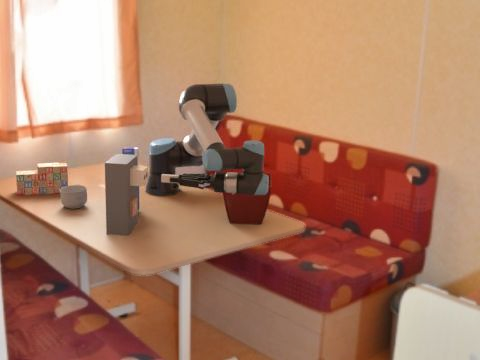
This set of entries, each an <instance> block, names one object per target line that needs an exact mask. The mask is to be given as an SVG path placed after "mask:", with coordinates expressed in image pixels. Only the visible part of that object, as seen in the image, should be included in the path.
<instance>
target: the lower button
mask: <svg viewBox="0 0 480 360" xmlns="http://www.w3.org/2000/svg"><path fill="white" fill-rule="evenodd" d="M137 212H138V213H139V210H138V197H137V196H134V197H133V198H132V199H131V200H130V217H134V215H135V214H136V213H137Z"/></svg>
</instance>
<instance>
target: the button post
mask: <svg viewBox="0 0 480 360" xmlns="http://www.w3.org/2000/svg"><path fill="white" fill-rule="evenodd" d="M134 165H135V166H139V157H138V158H137V155H128V154H122V153H116V154H114V155H113V156H112V157H111V158H109V159H108V160H106V161H105V162H104V177H105V178H104V181H105V183H104V186H105V188H104V190H105V229H106V230H105V231H106V235H115V236H117V235H118V236H127V237H128V236H129V235H130V234H131V233H132V231H133V230H134V229H135V227H137V225H138V224H139V211H138V212H137V213H136V214H135V215H134V217H130V200H131V199H132V198H133V197H134V196H137V197H138V186H130V168H131V167H133V166H134Z"/></svg>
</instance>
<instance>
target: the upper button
mask: <svg viewBox="0 0 480 360" xmlns="http://www.w3.org/2000/svg"><path fill="white" fill-rule="evenodd" d="M148 177H149V166H146V165H138V166H135V165H134V166H133V167H131V168H130V186H139V187H144V186H146V183H147V182H148Z"/></svg>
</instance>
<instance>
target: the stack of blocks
mask: <svg viewBox="0 0 480 360" xmlns="http://www.w3.org/2000/svg"><path fill="white" fill-rule="evenodd" d="M36 165H37V169H36V170H18V171H17V170H16V171H15V173H16V176H15V177H16V191H17V192H16V194H17V196H27V195H46V194H60V189H61V188H63V187H66V186H69V173H68V164H67V162H45V163H37V164H36Z"/></svg>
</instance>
